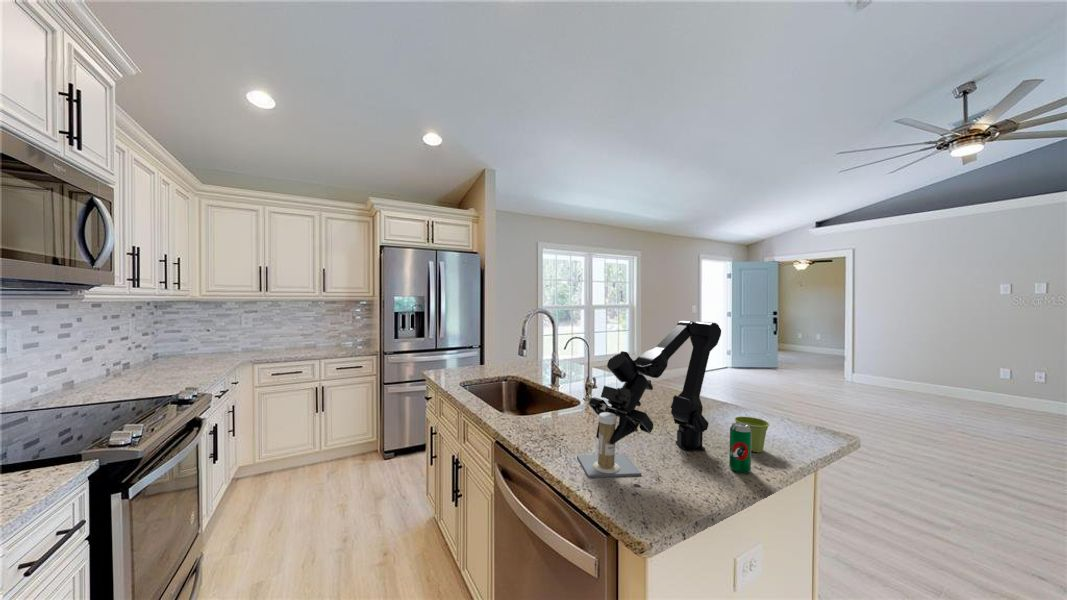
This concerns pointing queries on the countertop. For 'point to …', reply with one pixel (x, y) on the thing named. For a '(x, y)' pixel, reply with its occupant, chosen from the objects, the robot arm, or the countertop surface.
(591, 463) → the board
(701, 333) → the robot arm
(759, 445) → the plant pot
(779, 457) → the countertop surface
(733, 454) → the soda can
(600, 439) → the sprinkles bottle
